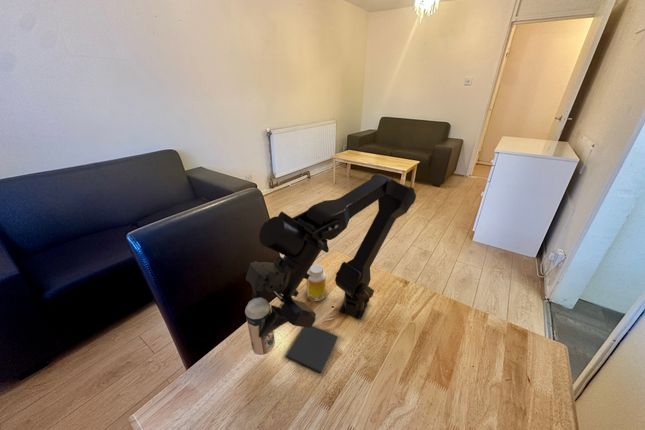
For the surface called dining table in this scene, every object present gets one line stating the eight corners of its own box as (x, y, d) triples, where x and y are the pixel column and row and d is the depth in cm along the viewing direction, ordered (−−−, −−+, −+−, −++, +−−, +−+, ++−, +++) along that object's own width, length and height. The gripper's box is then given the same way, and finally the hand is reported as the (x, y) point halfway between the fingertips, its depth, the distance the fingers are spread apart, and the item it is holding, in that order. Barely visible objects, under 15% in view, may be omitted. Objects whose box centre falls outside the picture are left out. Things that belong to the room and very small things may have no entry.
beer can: (271, 358, 53) (265, 316, 47) (248, 355, 53) (240, 313, 48) (277, 337, 57) (273, 297, 52) (256, 335, 58) (249, 294, 52)
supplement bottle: (328, 298, 78) (329, 271, 73) (311, 304, 76) (311, 276, 71) (320, 286, 83) (320, 260, 78) (304, 291, 80) (303, 265, 76)
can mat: (306, 325, 69) (306, 323, 69) (337, 337, 66) (337, 336, 66) (286, 356, 61) (286, 355, 61) (320, 373, 58) (321, 371, 58)
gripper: (247, 228, 53) (202, 293, 52) (300, 275, 40) (243, 363, 39) (282, 246, 61) (245, 303, 60) (336, 290, 49) (290, 363, 47)
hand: (254, 328), depth 52 cm, fingers closed on beer can, 5 cm apart
